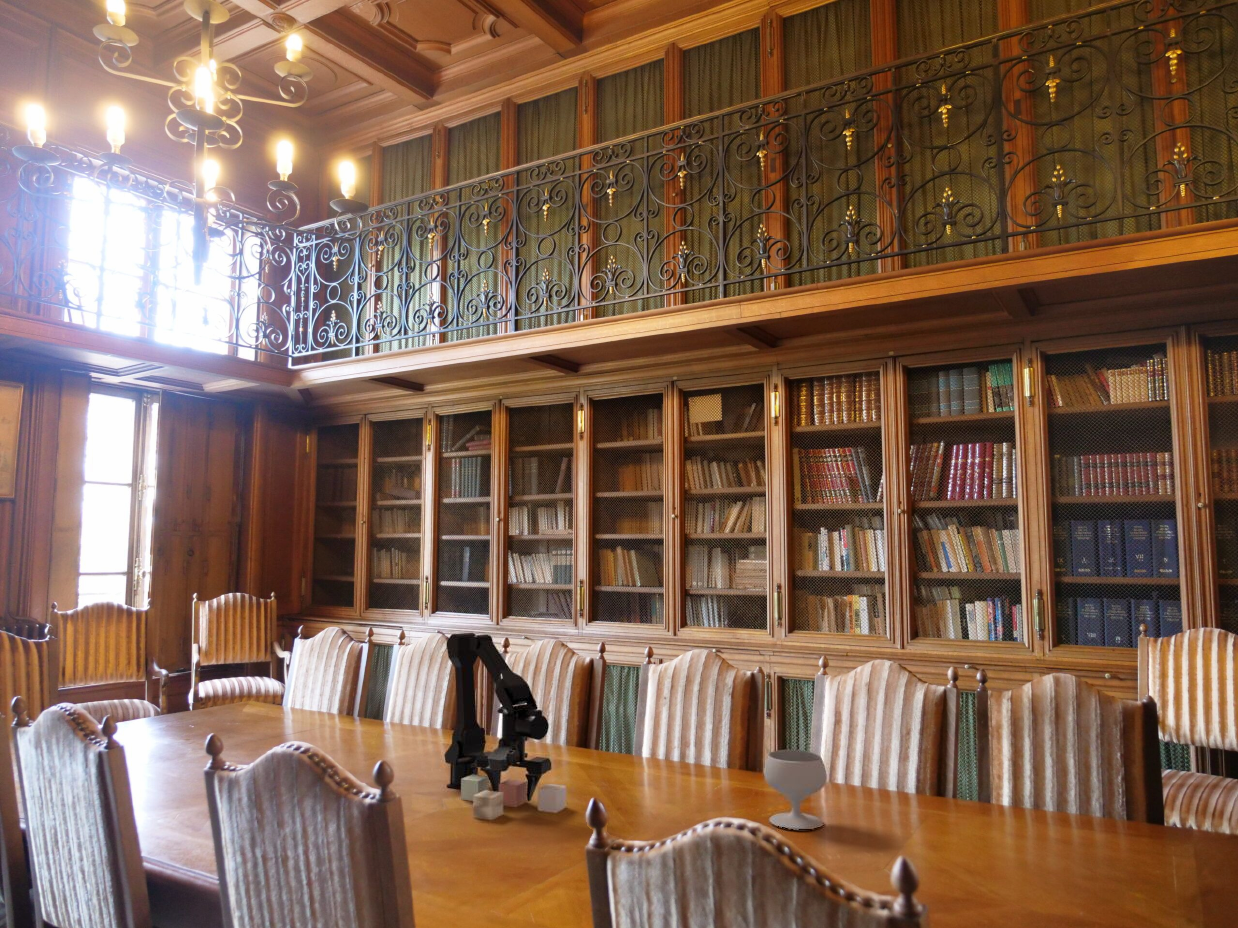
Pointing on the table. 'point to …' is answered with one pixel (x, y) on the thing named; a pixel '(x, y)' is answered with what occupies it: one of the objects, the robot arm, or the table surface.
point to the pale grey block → (552, 798)
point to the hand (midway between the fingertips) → (512, 798)
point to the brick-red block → (513, 792)
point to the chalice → (795, 784)
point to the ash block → (488, 805)
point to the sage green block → (473, 786)
